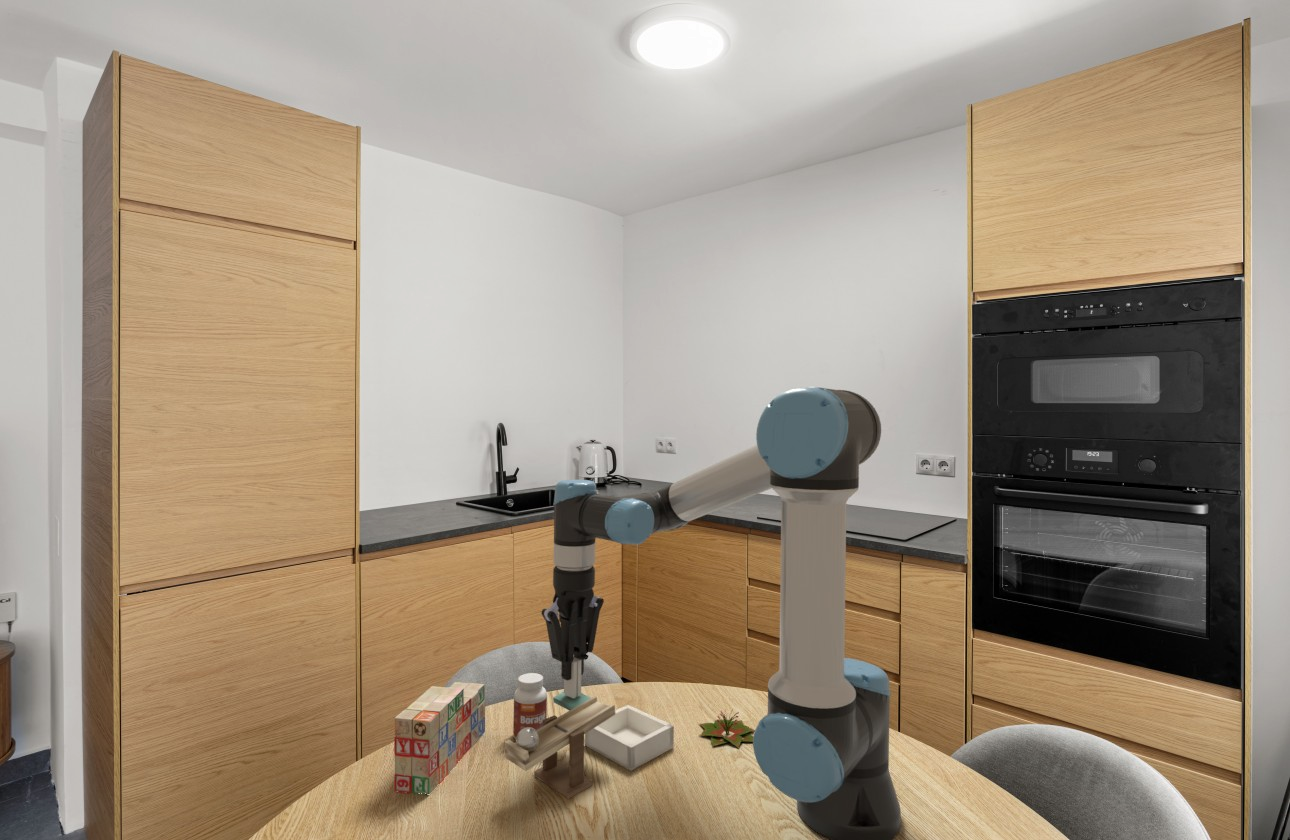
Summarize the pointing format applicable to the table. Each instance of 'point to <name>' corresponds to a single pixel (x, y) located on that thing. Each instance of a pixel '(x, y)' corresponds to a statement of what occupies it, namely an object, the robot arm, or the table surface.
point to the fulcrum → (566, 767)
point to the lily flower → (727, 731)
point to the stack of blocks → (436, 735)
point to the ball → (528, 739)
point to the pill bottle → (529, 703)
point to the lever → (561, 729)
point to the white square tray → (631, 737)
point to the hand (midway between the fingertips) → (572, 694)
